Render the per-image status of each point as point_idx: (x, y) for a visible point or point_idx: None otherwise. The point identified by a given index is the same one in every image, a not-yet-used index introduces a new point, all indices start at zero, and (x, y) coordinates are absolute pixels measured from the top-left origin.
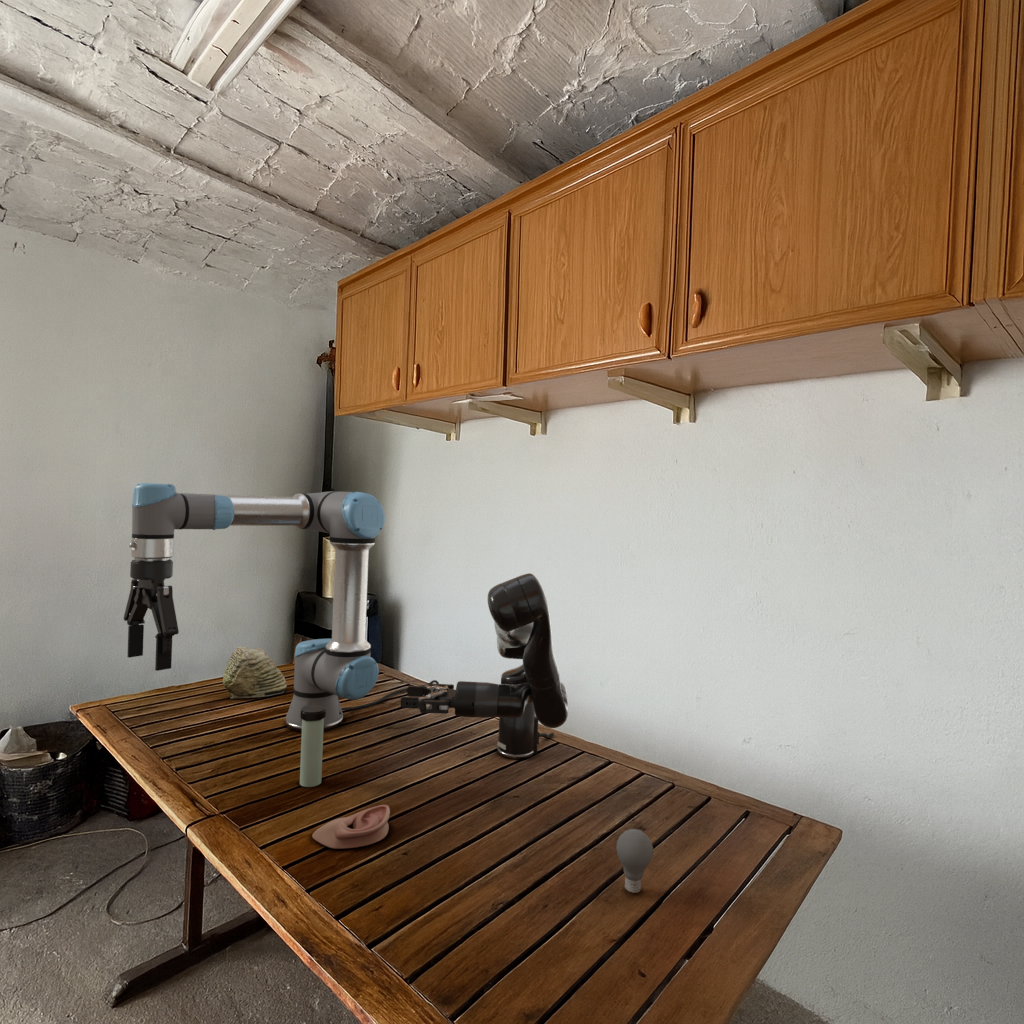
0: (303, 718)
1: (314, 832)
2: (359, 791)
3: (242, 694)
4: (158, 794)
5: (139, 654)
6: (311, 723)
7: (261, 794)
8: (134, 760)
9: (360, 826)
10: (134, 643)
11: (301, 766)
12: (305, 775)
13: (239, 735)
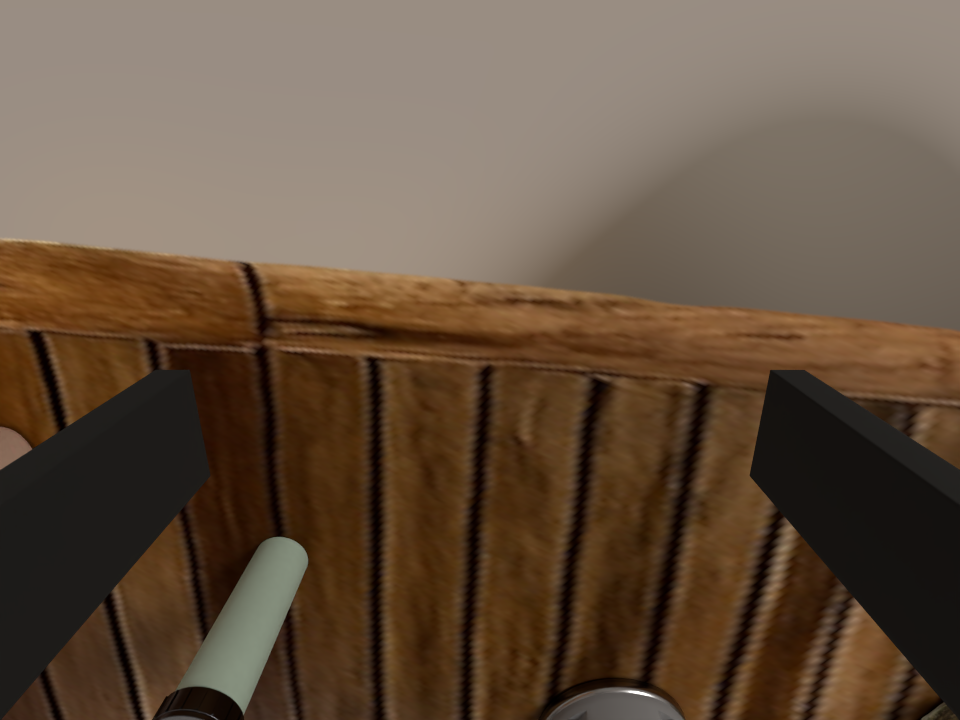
0: (188, 691)
1: (11, 438)
2: (168, 600)
3: (943, 717)
4: (478, 283)
5: (761, 458)
6: (177, 689)
7: (297, 456)
8: (757, 326)
9: None
10: (838, 478)
11: (264, 570)
12: (256, 558)
13: (686, 583)
